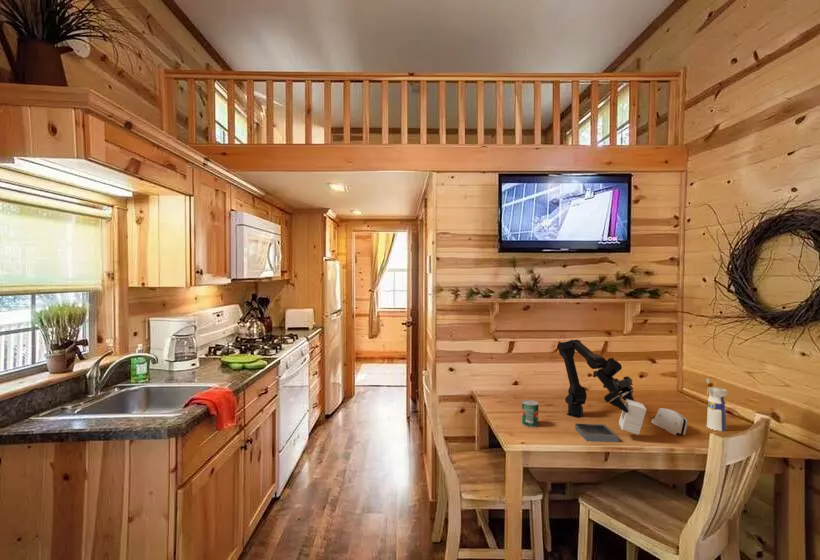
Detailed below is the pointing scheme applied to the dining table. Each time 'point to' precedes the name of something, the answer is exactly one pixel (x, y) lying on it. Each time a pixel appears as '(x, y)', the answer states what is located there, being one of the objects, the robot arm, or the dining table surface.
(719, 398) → the white tall bottle
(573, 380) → the robot arm
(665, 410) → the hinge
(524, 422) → the canned tomato
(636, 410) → the supplement box
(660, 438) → the dining table surface
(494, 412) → the dining table surface
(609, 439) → the square collar
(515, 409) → the dining table surface
